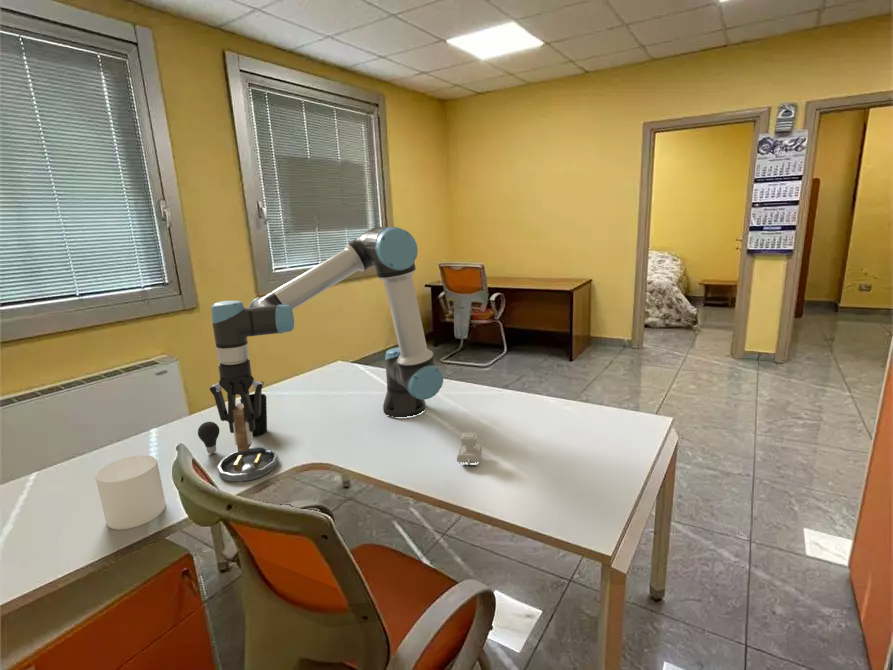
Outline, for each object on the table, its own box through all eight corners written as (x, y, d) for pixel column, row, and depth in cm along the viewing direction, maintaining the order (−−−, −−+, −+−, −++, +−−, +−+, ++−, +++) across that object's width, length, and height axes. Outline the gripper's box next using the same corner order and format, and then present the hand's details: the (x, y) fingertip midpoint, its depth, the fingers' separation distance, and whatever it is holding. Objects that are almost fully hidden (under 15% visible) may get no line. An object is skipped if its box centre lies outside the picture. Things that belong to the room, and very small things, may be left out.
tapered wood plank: (251, 443, 127) (246, 403, 124) (247, 450, 123) (242, 409, 120) (242, 443, 127) (237, 403, 124) (238, 451, 122) (232, 410, 119)
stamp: (481, 471, 122) (481, 443, 120) (456, 470, 123) (456, 442, 121) (481, 454, 131) (482, 428, 129) (459, 454, 132) (458, 427, 129)
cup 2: (261, 438, 143) (256, 403, 140) (239, 437, 144) (234, 401, 141) (275, 428, 150) (271, 394, 147) (254, 426, 151) (249, 392, 148)
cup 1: (140, 495, 114) (131, 452, 111) (177, 503, 111) (169, 458, 108) (93, 525, 103) (82, 478, 100) (132, 534, 100) (122, 486, 97)
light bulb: (227, 450, 136) (222, 419, 133) (212, 459, 131) (206, 427, 128) (212, 447, 138) (207, 417, 135) (197, 456, 132) (191, 425, 130)
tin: (282, 451, 134) (281, 443, 134) (270, 479, 120) (269, 470, 119) (229, 456, 132) (227, 448, 132) (210, 485, 118) (209, 476, 117)
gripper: (268, 354, 123) (276, 434, 129) (207, 357, 121) (219, 438, 127) (261, 363, 116) (270, 446, 122) (196, 366, 114) (209, 451, 120)
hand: (244, 442), depth 124 cm, fingers closed on tapered wood plank, 2 cm apart
